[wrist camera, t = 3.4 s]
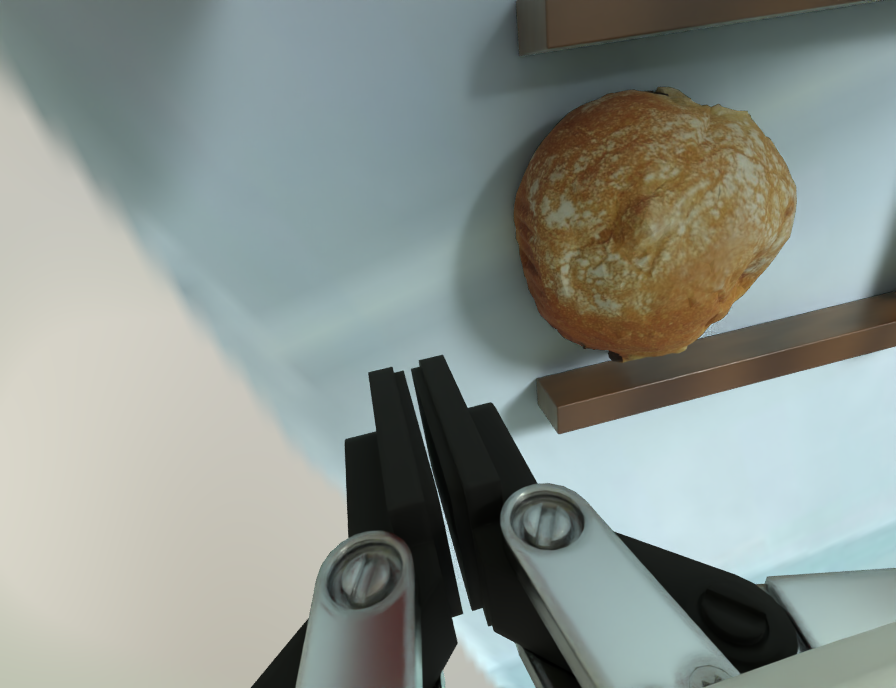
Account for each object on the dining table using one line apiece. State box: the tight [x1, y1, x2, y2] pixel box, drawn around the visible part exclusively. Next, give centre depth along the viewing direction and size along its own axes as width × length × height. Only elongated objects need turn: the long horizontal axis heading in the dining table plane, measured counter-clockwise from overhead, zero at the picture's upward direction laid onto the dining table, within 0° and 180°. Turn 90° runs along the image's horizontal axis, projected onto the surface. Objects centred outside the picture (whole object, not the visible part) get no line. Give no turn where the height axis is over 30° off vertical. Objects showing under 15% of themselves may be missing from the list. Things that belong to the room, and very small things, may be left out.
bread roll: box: [514, 87, 797, 363], centre depth 17 cm, size 10×10×8 cm
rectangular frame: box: [516, 0, 896, 434], centre depth 19 cm, size 23×17×3 cm
